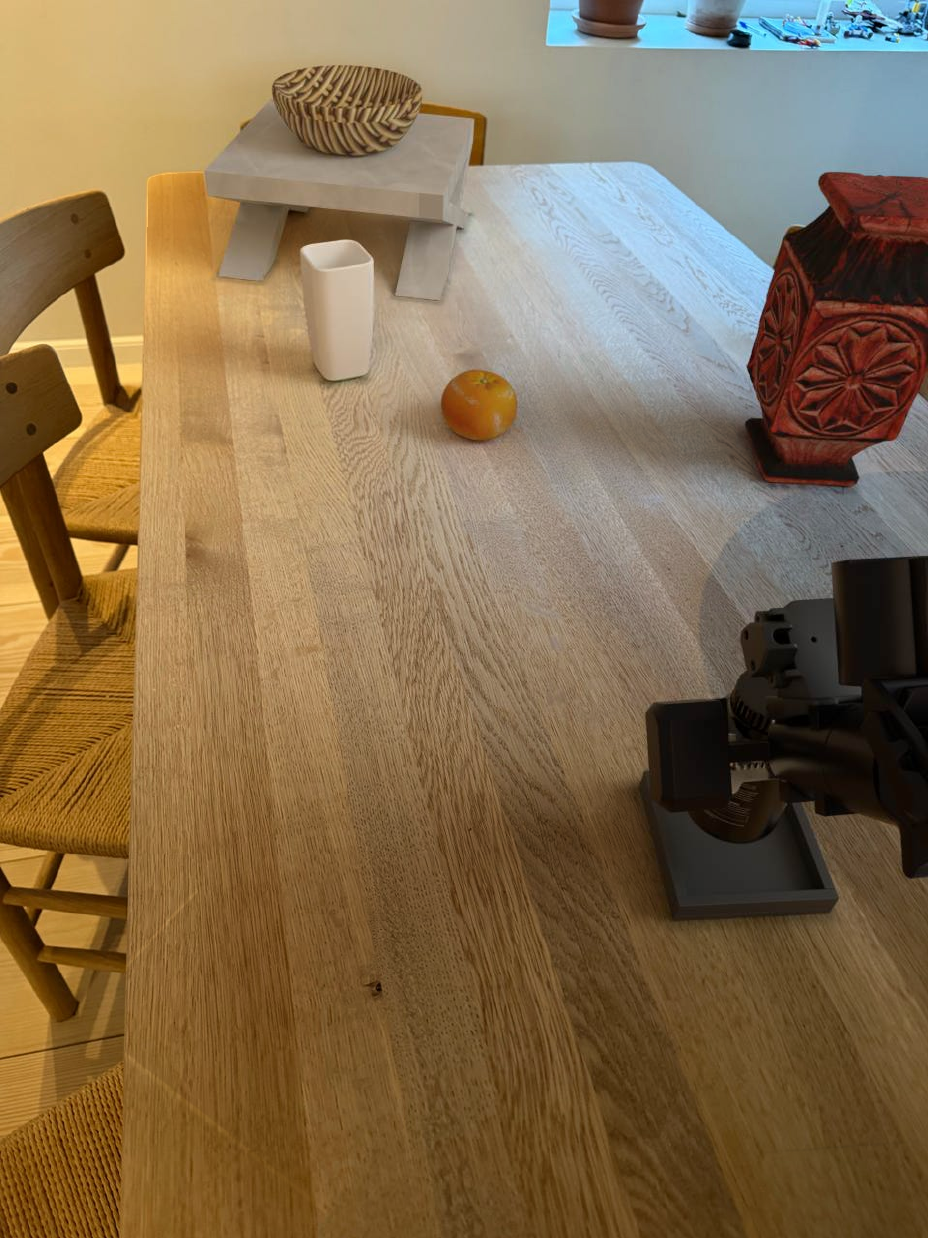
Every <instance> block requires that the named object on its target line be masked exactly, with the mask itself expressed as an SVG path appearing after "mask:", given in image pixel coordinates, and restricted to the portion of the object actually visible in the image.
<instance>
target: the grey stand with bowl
mask: <svg viewBox="0 0 928 1238" xmlns="http://www.w3.org/2000/svg"><path fill="white" fill-rule="evenodd" d="M271 95H272V98H270V99H269V100H268V101H267V102H266V103H265V104H264V106H263V107H262V108H261V109H260V110H259V111H258V112H257V113H256V114H255V115H254V117H252V119H250V121H249V122H247V124H246V125H245V126H244V127H243V128H242V129H241V130H240V131H239V132H238V133H237V134H236V136H234V138H233V139H232V140H230V142H229V143H228V144H227V145H226V146H225V148H223V149H222V151H220V152H219V154H218V155H217V156H216V157H215V158H214V159H213V160H212V161H211V162H210V163H209V164H208V166H207V167H206V168H205V169H204V170H203V176H204V184H205V191H206V196H207V197H211V198H216V199H221V200H226V201H231V202H236V203H239V205H238V209H237V213H236V216H235V219H234V222H233V225H232V229H231V232H230V234H229V235H230V236H229V239H228V242H227V245H226V249H225V251H224V255H223V257H222V261H221V265H220V267H219V271H218V274H217V277H221V278H229V279H238V280H249V281H257V282H263V280H264V278H265V277H266V275H267V274H268V272H269V271H270V269H271V268H272V266H273V265H274V264H275V261H276V258H277V253H278V250H279V246H280V243H281V240H282V236H283V233H284V229H285V228H284V227H285V224H286V221H287V219H288V214H289V212H297V213H298V212H300V213H308V212H309V210H310V208H311V207H312V208H313V207H314V208H323V209H332V210H339V211H340V210H341V211H350V212H351V211H352V212H359V213H360V212H361V213H362V212H363V213H372V214H380V215H391V216H396V217H400V218H403V219H406V220H409V221H410V224H409V229H408V233H407V238H406V242H405V248H404V251H403V257H402V261H401V266H400V269H399V270H400V271H399V275H398V279H397V285H396V288H395V289H396V290H395V294H394V296H395V297H404V298H413V299H422V300H423V299H424V300H432V301H441V300H442V299H441V298H442V296H443V293H444V289H445V287H446V284H447V281H448V275H449V270H450V265H451V261H452V254H453V250H454V245H455V239H456V233H457V229H466V225H467V222H468V218H469V215H470V212H468V211H466V210H464V209H462V208H461V207H462V202H463V196H464V190H465V186H466V181H467V175H468V171H469V165H470V159H471V153H472V150H473V149H472V148H473V144H474V132H475V131H474V130H475V118H472V117H463V116H451V115H442V114H432V113H431V114H430V113H422V112H421V113H420V110H421V106H422V102H423V90H422V88H421V85H420V84H419V83H418V82H417V81H416V80H414V79H413V78H411V77H409V76H407V75H404V74H402V73H399V72H397V71H392V70H389V69H383V68H378V67H373V66H372V67H371V66H365V65H352V64H351V65H350V64H347V65H346V64H345V65H343V64H334V65H333V64H332V65H317V66H309V67H304V68H299V69H296V70H295V69H294V70H292V71H289V72H285V74H282V75H280V76H279V77H278V78H276V79H275V80H274V81H273V83H272V84H271Z"/></svg>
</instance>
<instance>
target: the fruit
mask: <svg viewBox="0 0 928 1238" xmlns="http://www.w3.org/2000/svg"><path fill="white" fill-rule="evenodd" d="M440 410H441V414H442V417H443V419H444V421H445V423H446V425H447V426H448V427H449V428H450V429H451V430H452V431H453V432H454V433H456V434H458V435H459V436H461V437H463V438H466V439H468V440H471V441H489V440H492V439H495V438H497V437H499V436H501V435H503V434H505V433H506V432H507V431H508V430H509V429H510V428H511V426H512V425H513V423H514V422H515V420H516V417H517V413H518V397H517V394H516V391H515V390H514V388H513V386H512V385H511V384H510V382H509V381H508V380H507V379H505V378H504V377H503V376H501V375H499V374H498V373H495V372H494V371H493V372H492V371H488V370H484V369H469V370H466V371H463V372H460V373H459V374H458V375H456V376H455V377H452V379H451V380H450V381H449V382H448V383H446V386H445V388H444V389H443V392H442V395H441V399H440Z"/></svg>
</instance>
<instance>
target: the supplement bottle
mask: <svg viewBox="0 0 928 1238" xmlns="http://www.w3.org/2000/svg"><path fill="white" fill-rule="evenodd" d="M765 696H777V689H771V688H770V686H769V684H768V681H767V680H766V679H765V678H763V677H756V678H752V677H751V676H750V675H749V674H748V672H747V670H744V671H743V673H741V674H740V675H739V677H738V678H737V680H736V682H735V684H734V687H733V689H732V690H731V692H730V693H728V694H726V695H724V696H723V697H722V698H727V710H728V725H729V733H733V734H736V739H737V742H742V741H755V740H767V738H768V734H769V731H770V728H771V725H772V721H773V720H770V719H767V717H766V704H765ZM762 762H765V763H766V764H767V765H768V762H769V761H768V760H764V761H752V762H739V763H738V764H739V765H741V768H742V765H743V764H747V766H749V763H752V764H753V765H754V767H755V763H760V765H761V764H762ZM731 768H732V769H735V768H736V767H731ZM786 805H787V803H785V802H782V801H780V796H779V780H778V779H774V780H762V781H750V782H743V783H742V784H741V785H740V788H739V790H738V791H737V792H736V793H734V794H733V798H731V799H730V802H729V804H728V806H727V808H721V809H709V810H698V811H687V812H688V814H689V816H690V817H691V819H692V820H693V821H694V823H695V824H696V825H697V826H698V827H699V828H700V829H702V830H703V831H704V832H706V833H707V834H709V835H710V836H712V837H714V838H716V839H718V840H721V841H724V842H728V843H733V844H749V843H754V842H757V841H760V840H762V839H764V838H765V837H767V836H768V835H769V834H771V833H772V831H773V830H774V829H775V827H776V826H777V824H778V822H779V820H780V818H781V816H782V814H783V812H784V809H785V807H786Z"/></svg>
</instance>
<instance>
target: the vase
mask: <svg viewBox="0 0 928 1238" xmlns="http://www.w3.org/2000/svg"><path fill="white" fill-rule="evenodd" d="M817 182H818V183H817V185H818V188H819V190H820V192H821V193H822V195H823V196H824V198H825V200H826V201H827V203H828V206H827V208H826V209H825V210H824V211H823V212H822V213H821V214H819V215H818V216H817V217H816V218H815V219H814V220H813V221H811V222H809V223H808V224H807V225H805V226H804V227H802V228H800V229H798V230H795V231H792V232H788V233H786V234H785V235H784V236H783V237H782V241H781V245H780V250H779V255H778V257H777V262H776V263H775V264H776V265H775V268H774V270H773V274H772V278H771V280H770V282H769V285H768V288H767V289H768V290H767V293H766V296H765V297H766V298H765V302H764V305H763V308H762V311H761V314H760V316H759V317H760V318H759V320H758V327H757V333H756V336H755V339H754V341H753V346H752V348H751V353H750V356H749V359H748V362H747V363H746V366H745V367H746V370H747V373H748V375H749V379H750V382H751V384H752V388H753V391H754V392H755V394H756V399H757V401H758V403H759V406H760V409H761V417H751V418H748V419H747V420H745V423H744V428H745V432H746V435H747V437H748V439H749V442H750V444H751V448H752V450H753V453H754V457H755V460H756V463H757V466H758V468H759V469H758V470H759V471H760V474H761V475H762V478H763V479H764V481H767V482H769V483H784V484H787V483H788V484H801V485H802V484H805V485H817V486H818V485H819V486H838V487H839V486H840V487H848V488H849V487H853V486H855V485H857V484H858V482H859V480H860V476H859V473H858V470H857V467H856V465H855V461H854V459H853V457H855V456H856V455H858V454H859V453H860V452H862V451H864V450H866V449H868V448H869V447H872V446H875V445H877V444H881V443H885V442H893V441H895V440H897V439H898V436H899V435H900V433H901V431H902V428H903V426H904V424H905V421H906V419H907V417H908V414H909V412H910V411H911V408H912V406H913V403H914V401H915V399H916V398H917V396H918V394H919V391H920V389H921V387H922V384H923V381H924V379H925V377H926V375H927V373H928V177H924V176H906V175H887V176H885V175H881V174H878V175H864V174H862V173H858V172H846V171H827V172H826V171H825V172H824V173H822V174H821V175H820V176H819V177H818V180H817Z"/></svg>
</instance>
